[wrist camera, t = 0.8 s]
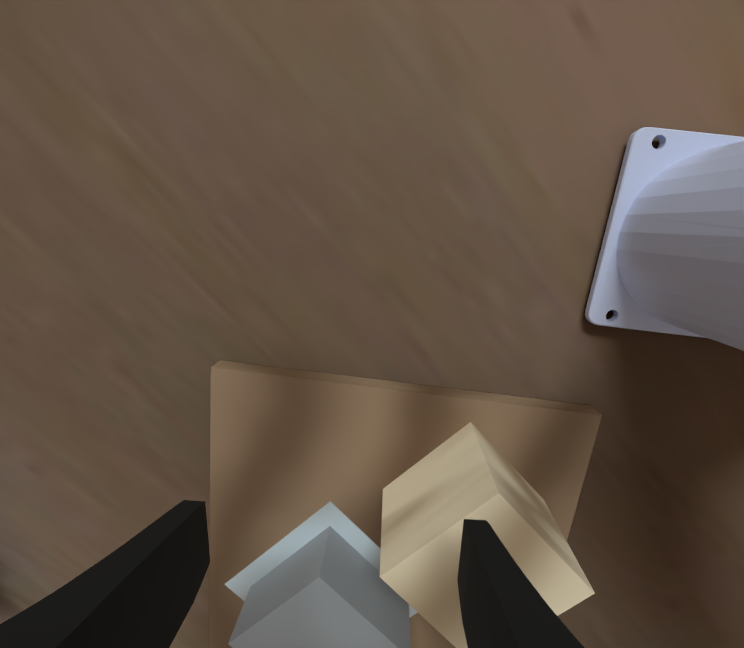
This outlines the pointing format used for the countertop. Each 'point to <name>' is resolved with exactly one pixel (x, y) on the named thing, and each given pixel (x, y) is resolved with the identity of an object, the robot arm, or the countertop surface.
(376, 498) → the board
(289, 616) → the grey base block
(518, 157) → the countertop surface
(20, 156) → the countertop surface
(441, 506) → the maple cube
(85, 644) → the robot arm
